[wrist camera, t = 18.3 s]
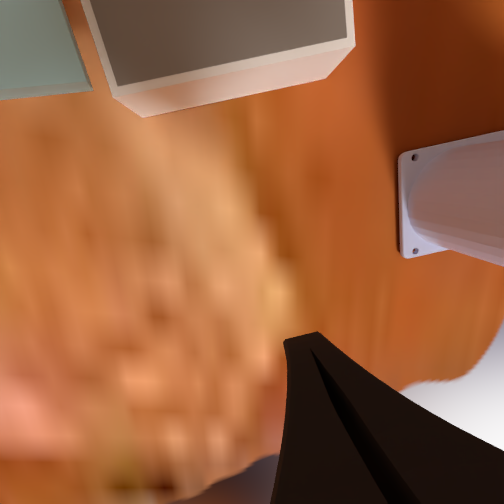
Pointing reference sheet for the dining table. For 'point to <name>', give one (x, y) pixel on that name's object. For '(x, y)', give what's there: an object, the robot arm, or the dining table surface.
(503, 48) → the dining table surface
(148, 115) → the carton
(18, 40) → the side flap
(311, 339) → the robot arm
